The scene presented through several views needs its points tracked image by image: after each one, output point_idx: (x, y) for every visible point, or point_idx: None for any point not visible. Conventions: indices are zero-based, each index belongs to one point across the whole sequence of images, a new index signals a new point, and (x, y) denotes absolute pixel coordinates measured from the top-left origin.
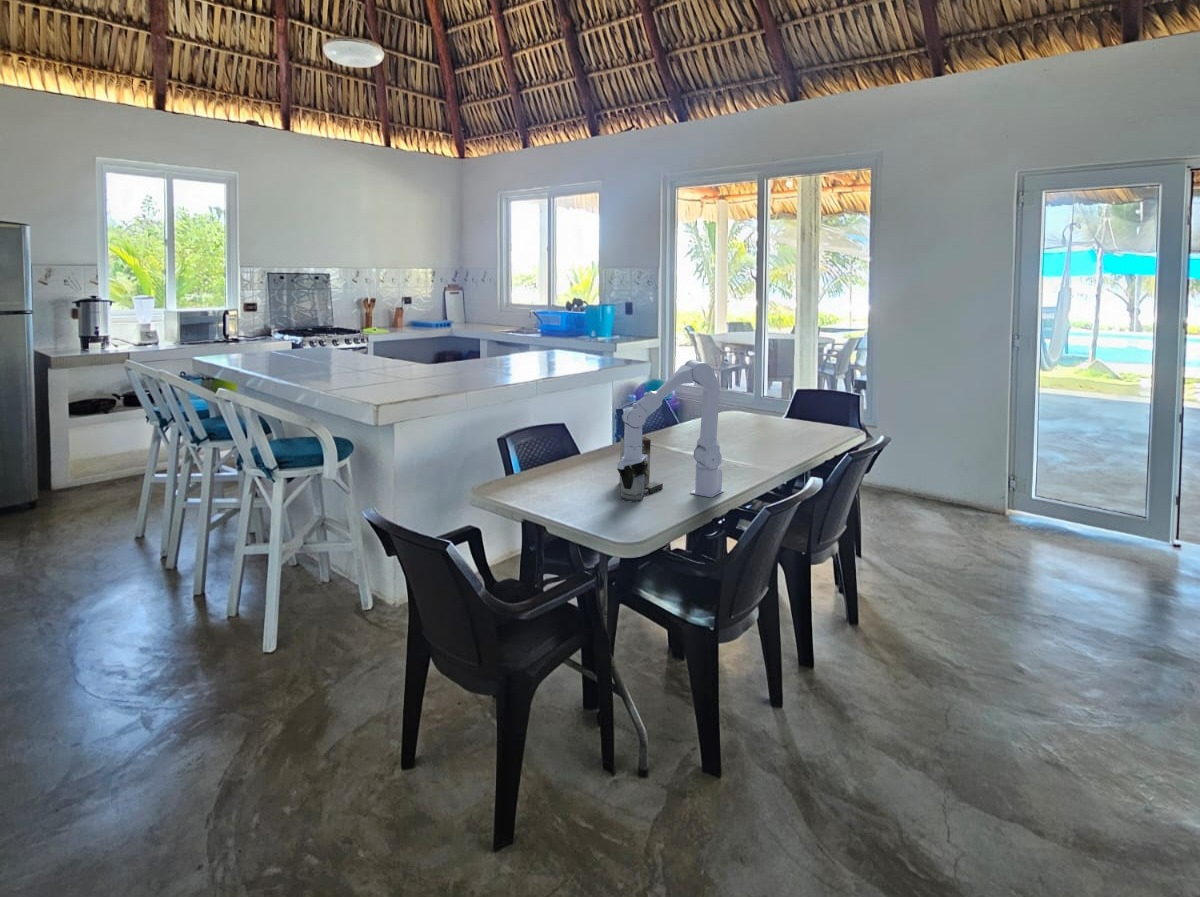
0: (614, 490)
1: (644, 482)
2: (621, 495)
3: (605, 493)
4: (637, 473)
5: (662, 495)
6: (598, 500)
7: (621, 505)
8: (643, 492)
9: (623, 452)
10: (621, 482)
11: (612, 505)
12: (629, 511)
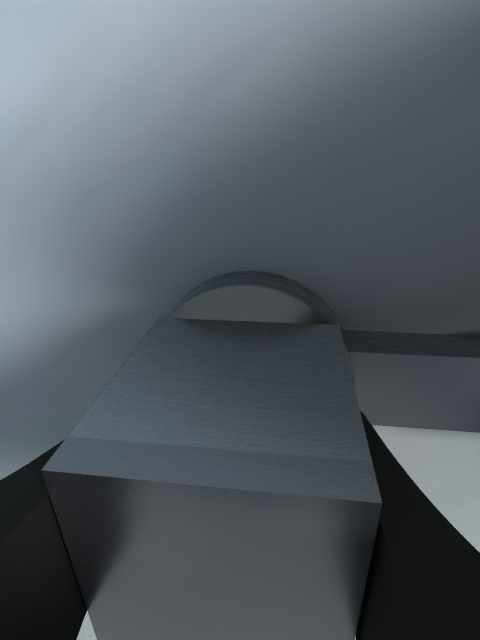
0: (427, 27)
1: None
2: (174, 310)
3: (242, 24)
4: (303, 620)
5: (474, 494)
6: (3, 147)
7: (60, 379)
8: (377, 421)
9: None
10: (113, 385)
11: (9, 329)
12: (15, 468)
